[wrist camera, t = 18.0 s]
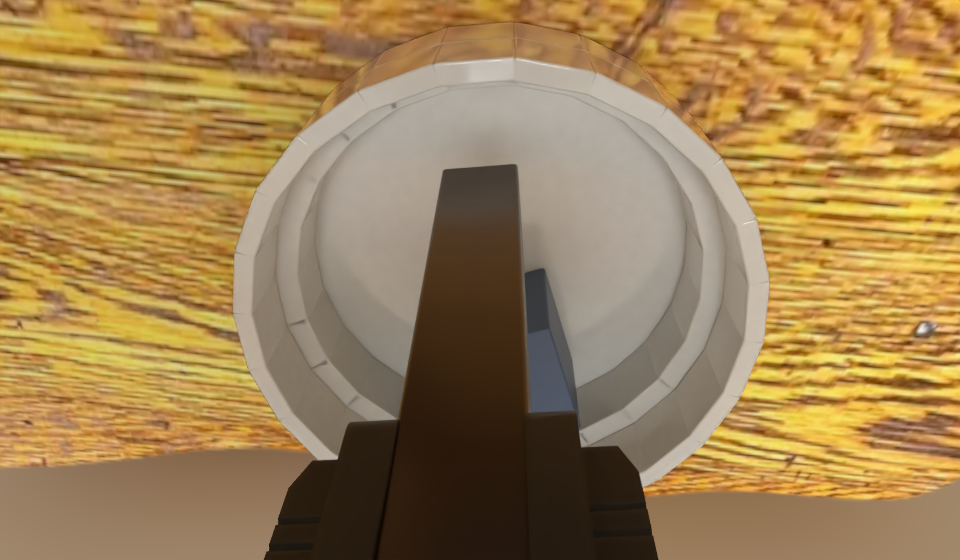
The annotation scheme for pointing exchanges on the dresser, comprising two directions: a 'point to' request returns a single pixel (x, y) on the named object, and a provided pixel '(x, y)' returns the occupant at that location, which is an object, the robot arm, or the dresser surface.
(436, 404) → the stick
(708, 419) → the bowl
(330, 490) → the robot arm
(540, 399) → the block
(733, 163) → the dresser surface
